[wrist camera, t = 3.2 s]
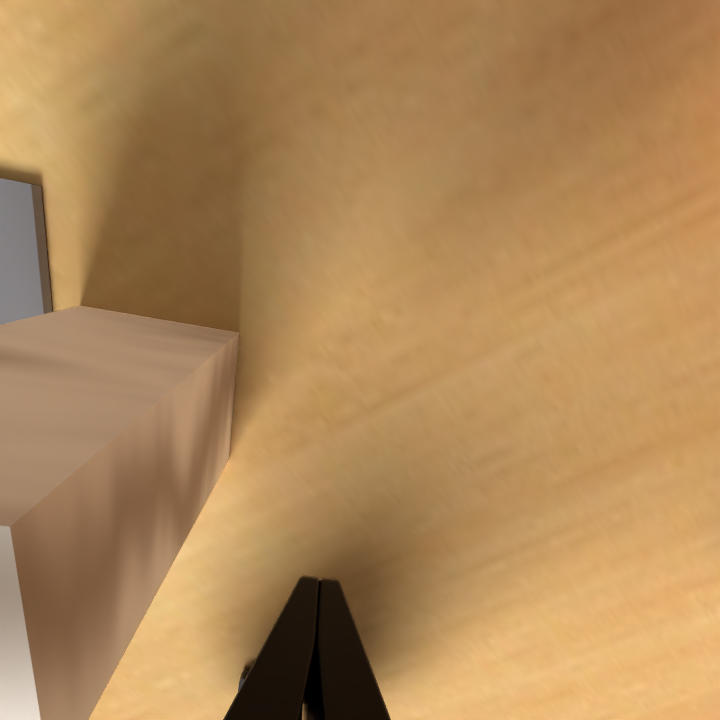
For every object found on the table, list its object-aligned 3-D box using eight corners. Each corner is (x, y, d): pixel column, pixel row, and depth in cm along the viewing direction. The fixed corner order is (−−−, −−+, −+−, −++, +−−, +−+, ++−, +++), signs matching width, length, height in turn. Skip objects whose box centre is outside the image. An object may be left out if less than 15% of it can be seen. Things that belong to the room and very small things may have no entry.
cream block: (229, 459, 16) (51, 787, 6) (88, 440, 15) (-337, 769, 6) (239, 332, 14) (9, 526, 4) (80, 305, 13) (-573, 461, 4)
